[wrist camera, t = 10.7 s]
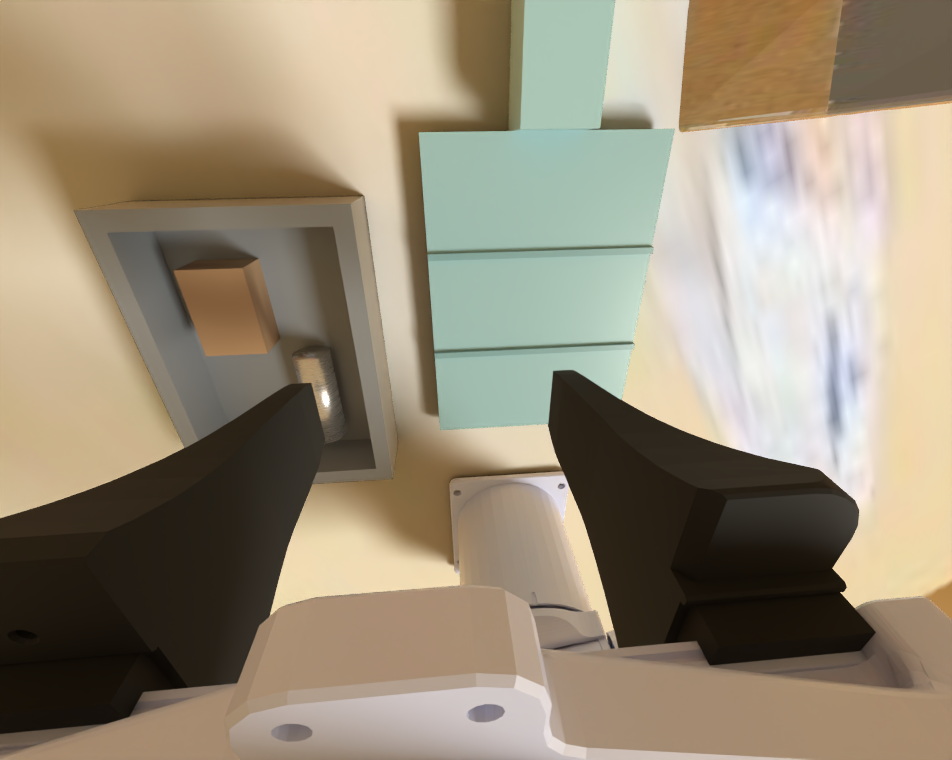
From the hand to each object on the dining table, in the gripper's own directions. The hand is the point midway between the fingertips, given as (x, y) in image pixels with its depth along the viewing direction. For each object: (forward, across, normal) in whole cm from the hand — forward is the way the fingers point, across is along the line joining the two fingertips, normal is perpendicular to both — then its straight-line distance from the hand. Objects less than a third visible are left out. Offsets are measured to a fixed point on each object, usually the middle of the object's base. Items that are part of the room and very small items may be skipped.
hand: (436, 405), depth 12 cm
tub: (+10, +8, +2) cm, 13 cm away
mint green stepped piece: (+10, -5, -2) cm, 11 cm away
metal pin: (+9, +6, +4) cm, 12 cm away
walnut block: (+9, +10, 0) cm, 13 cm away
